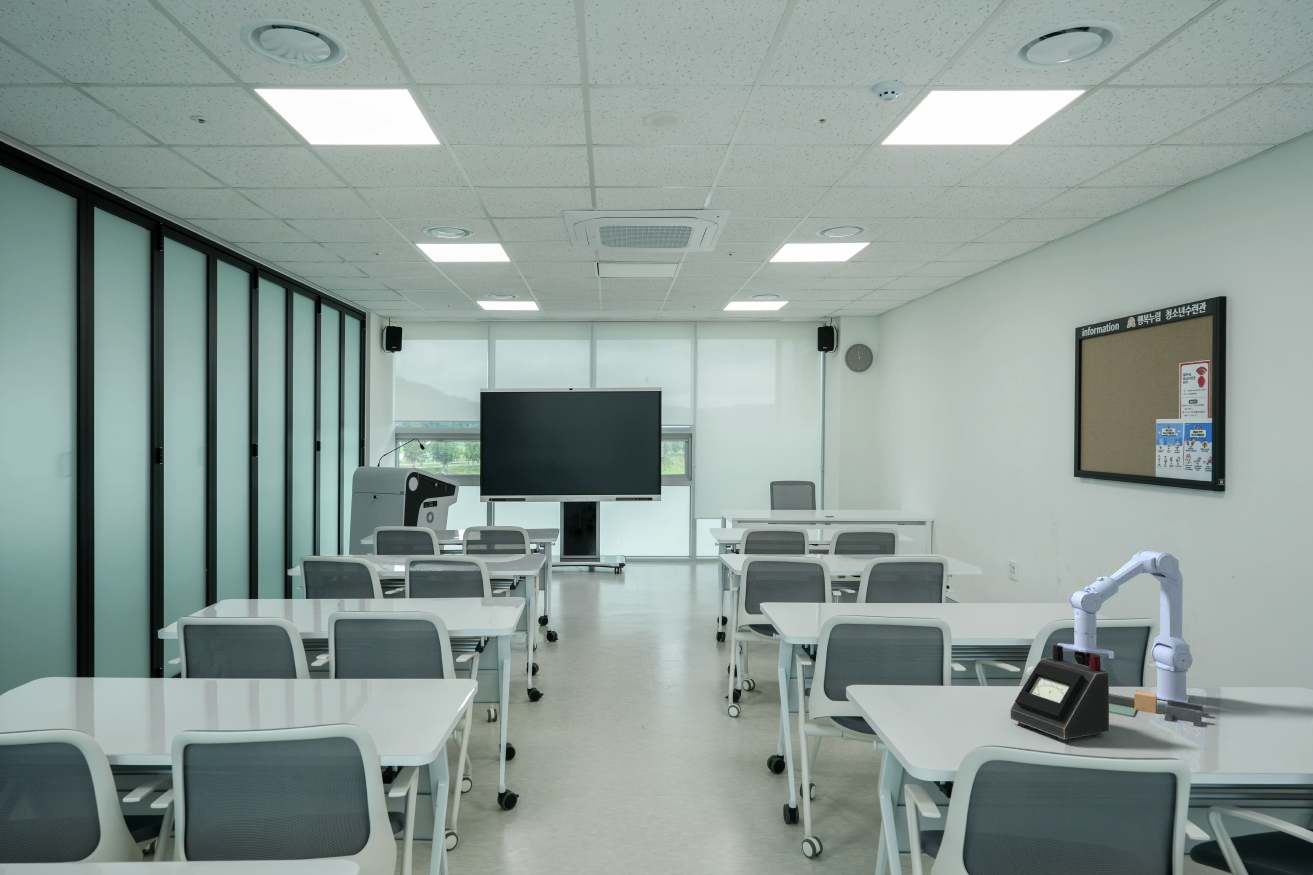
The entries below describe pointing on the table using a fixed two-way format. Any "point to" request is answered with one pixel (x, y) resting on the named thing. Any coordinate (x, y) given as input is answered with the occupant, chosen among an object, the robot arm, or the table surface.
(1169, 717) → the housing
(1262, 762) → the table surface
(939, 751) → the table surface
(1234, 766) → the table surface
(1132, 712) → the mat
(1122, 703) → the plug
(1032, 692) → the voltmeter
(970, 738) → the table surface
